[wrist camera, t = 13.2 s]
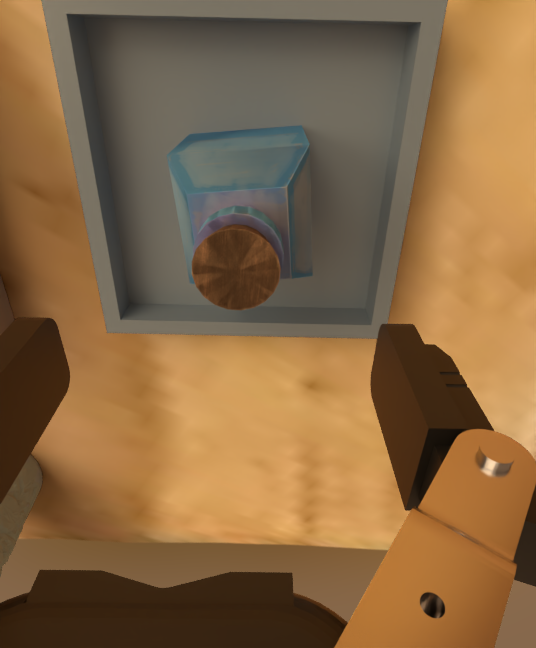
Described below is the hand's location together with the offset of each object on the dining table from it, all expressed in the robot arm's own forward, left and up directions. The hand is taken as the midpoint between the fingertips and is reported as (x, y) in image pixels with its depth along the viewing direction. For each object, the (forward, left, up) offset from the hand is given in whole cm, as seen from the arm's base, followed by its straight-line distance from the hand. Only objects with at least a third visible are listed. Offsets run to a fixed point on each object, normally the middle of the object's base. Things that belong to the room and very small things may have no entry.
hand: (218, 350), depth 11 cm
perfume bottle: (0, 0, -17) cm, 17 cm away
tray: (0, 0, -18) cm, 18 cm away
